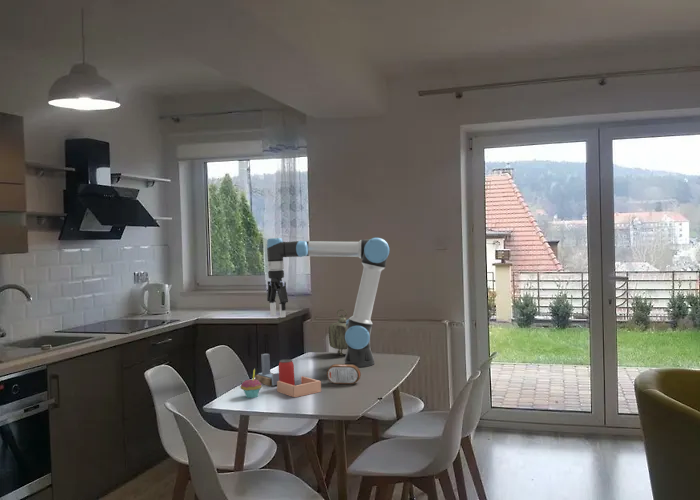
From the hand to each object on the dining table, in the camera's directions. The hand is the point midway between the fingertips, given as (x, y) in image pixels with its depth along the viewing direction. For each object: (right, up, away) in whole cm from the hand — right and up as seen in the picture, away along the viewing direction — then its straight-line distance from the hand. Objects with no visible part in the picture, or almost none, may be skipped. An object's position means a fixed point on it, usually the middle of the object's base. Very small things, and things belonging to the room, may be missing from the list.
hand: (278, 316), depth 308 cm
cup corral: (+13, -27, -40) cm, 50 cm away
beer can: (+8, -28, -32) cm, 43 cm away
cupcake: (-6, -29, -45) cm, 54 cm away
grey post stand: (-1, -28, -20) cm, 35 cm away
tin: (+32, -27, -29) cm, 51 cm away
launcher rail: (-1, -28, -20) cm, 35 cm away
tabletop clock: (+31, -25, +41) cm, 58 cm away
